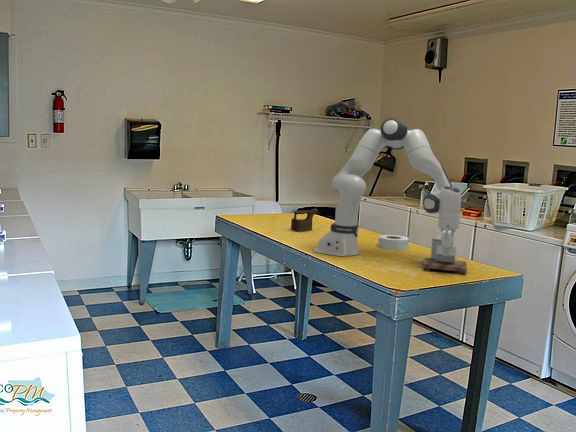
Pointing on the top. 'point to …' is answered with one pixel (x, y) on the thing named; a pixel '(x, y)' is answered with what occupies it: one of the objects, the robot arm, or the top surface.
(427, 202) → the robot arm
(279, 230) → the top surface
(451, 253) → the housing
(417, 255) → the top surface
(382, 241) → the roll of tape
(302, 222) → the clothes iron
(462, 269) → the stand
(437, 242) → the light bulb box
